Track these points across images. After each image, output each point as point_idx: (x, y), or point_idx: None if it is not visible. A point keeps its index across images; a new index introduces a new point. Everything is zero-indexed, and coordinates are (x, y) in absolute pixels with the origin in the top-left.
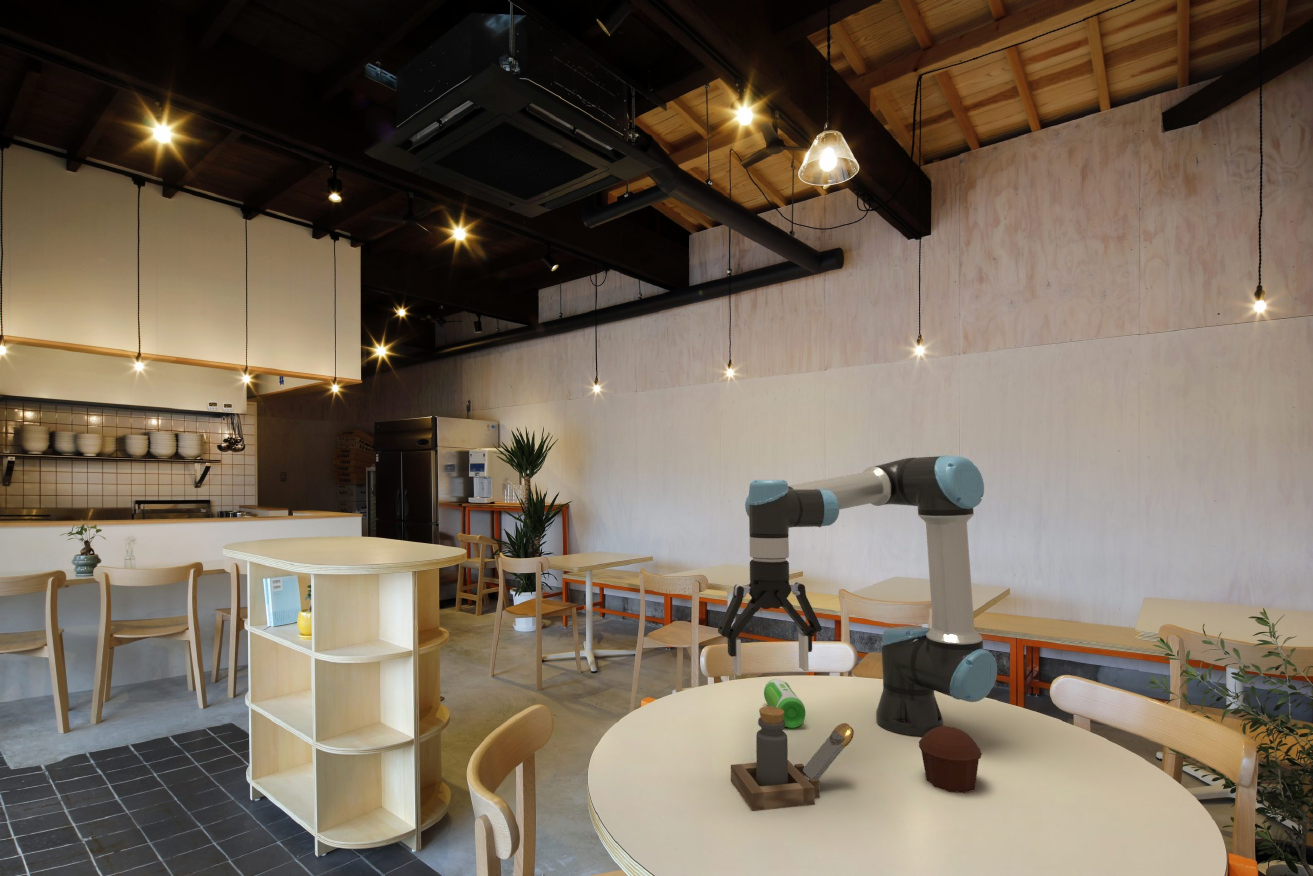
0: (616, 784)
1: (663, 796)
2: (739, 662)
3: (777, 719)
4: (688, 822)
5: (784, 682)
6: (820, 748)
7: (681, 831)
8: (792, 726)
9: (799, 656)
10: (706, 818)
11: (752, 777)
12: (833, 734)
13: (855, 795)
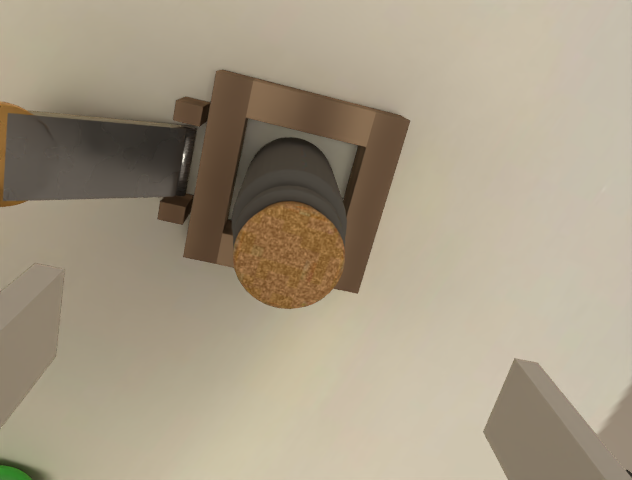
0: (604, 363)
1: (546, 272)
2: (562, 413)
3: (295, 203)
4: (572, 136)
5: None
6: (92, 193)
7: (612, 105)
8: (10, 470)
9: (18, 396)
10: (523, 134)
11: None
12: (21, 188)
13: (74, 62)
